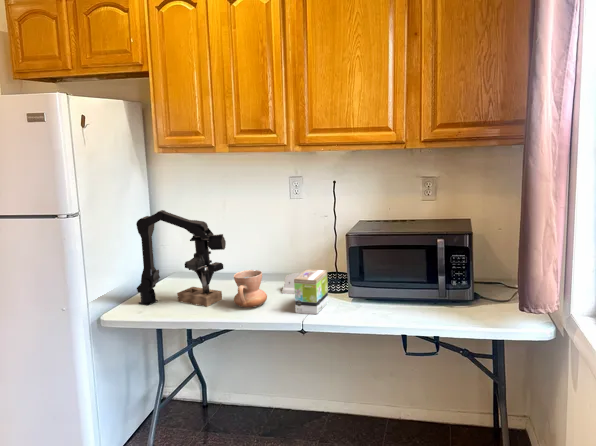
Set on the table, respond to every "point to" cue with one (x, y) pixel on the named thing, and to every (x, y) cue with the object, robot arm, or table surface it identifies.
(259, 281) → the ceramic jug
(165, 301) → the table surface
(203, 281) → the peg
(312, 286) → the tea box
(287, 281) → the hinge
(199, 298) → the hole block
